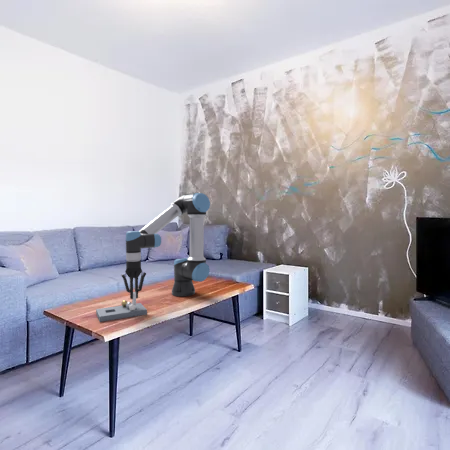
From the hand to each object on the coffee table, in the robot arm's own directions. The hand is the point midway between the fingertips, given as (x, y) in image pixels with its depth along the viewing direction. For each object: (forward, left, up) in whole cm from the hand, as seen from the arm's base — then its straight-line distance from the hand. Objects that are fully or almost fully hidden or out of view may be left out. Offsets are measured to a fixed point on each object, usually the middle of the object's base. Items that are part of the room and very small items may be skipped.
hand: (134, 304), depth 168 cm
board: (+7, 0, -4) cm, 8 cm away
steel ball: (+3, 0, 0) cm, 3 cm away
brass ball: (+4, -5, 0) cm, 6 cm away
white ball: (+2, +5, 0) cm, 5 cm away
